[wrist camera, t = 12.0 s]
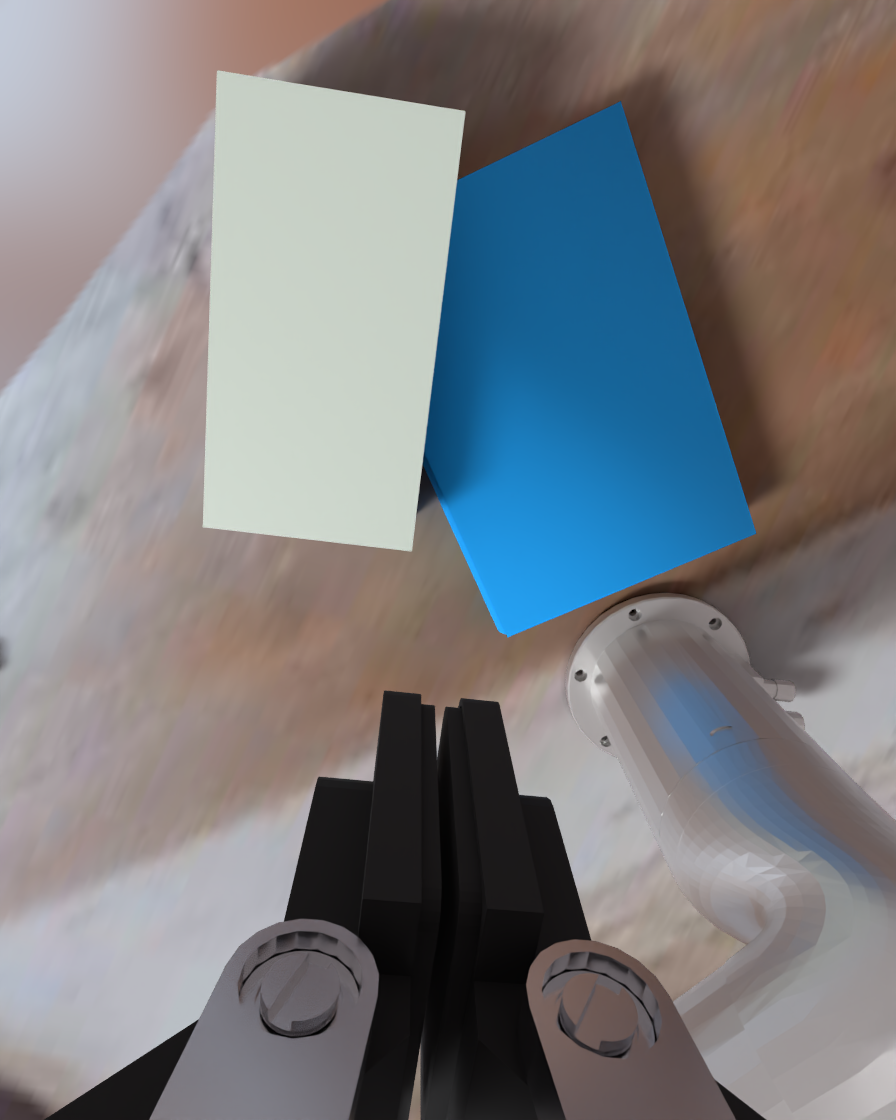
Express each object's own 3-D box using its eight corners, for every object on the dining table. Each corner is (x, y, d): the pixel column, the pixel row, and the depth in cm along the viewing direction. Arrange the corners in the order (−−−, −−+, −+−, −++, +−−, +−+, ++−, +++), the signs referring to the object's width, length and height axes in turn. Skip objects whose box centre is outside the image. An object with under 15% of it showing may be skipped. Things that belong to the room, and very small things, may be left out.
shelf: (457, 154, 39) (465, 111, 32) (413, 516, 45) (411, 551, 38) (256, 122, 38) (216, 70, 31) (238, 495, 44) (202, 526, 37)
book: (619, 96, 35) (764, 533, 42) (598, 122, 40) (733, 516, 46) (315, 247, 37) (502, 645, 44) (326, 257, 41) (495, 620, 48)
